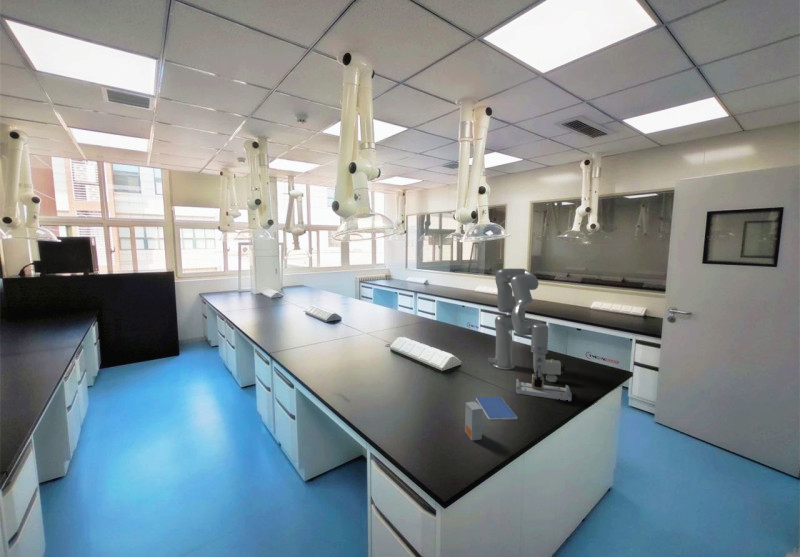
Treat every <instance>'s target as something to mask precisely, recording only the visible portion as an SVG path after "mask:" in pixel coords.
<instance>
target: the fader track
mask: <svg viewBox="0 0 800 557" xmlns="http://www.w3.org/2000/svg"><path fill="white" fill-rule="evenodd" d="M515 381H516V382H515V385H516V387H515V390H516V394H518V395H519V394H520V395H526V396H531V397H537V398H538V397H539V398H545V399H546V398H547V399H552V400H559V399H560V400H561V401H566V400H568V402H572V396H573V394H572V392H571V389H570V386H569V385H567V384H565V387H560V386H552V385H546V384H544V387H543V390H541V389H533V388H532V383H529V382H522V381H520V380H519V379H518V378H516V380H515Z"/></svg>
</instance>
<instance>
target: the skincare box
mask: <svg viewBox="0 0 800 557" xmlns="http://www.w3.org/2000/svg"><path fill="white" fill-rule="evenodd" d="M464 415H465V418H464V419H465V420H464V421H465V422H464V431H465V434H466V435H467V436H468V437H469V439H470V440H471V441H478V440H482V438H483V410H482V408H481V406H480V405H479V403H478V402H476V401H468V402H465V414H464Z"/></svg>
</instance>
